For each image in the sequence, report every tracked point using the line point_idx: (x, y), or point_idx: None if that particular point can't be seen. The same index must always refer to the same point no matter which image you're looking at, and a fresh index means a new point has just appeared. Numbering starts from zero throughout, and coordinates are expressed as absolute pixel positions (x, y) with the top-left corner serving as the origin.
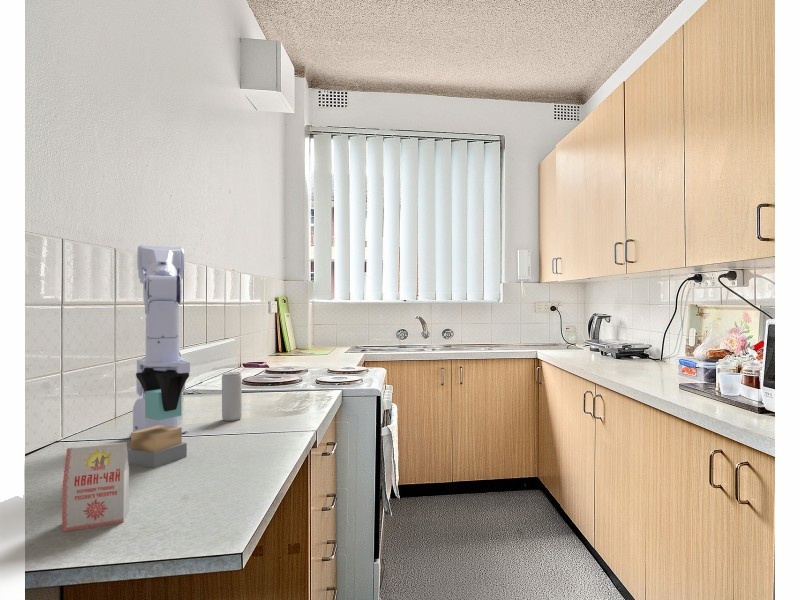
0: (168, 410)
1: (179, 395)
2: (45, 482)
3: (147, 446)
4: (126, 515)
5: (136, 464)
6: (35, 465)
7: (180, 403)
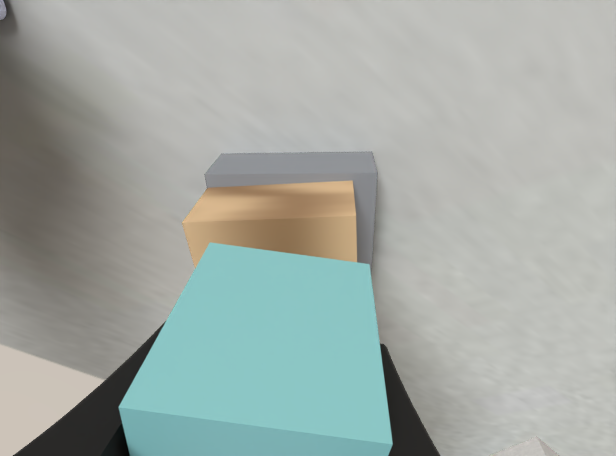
0: None
1: (429, 438)
2: None
3: None
4: (549, 448)
5: None
6: (35, 350)
7: (375, 332)
